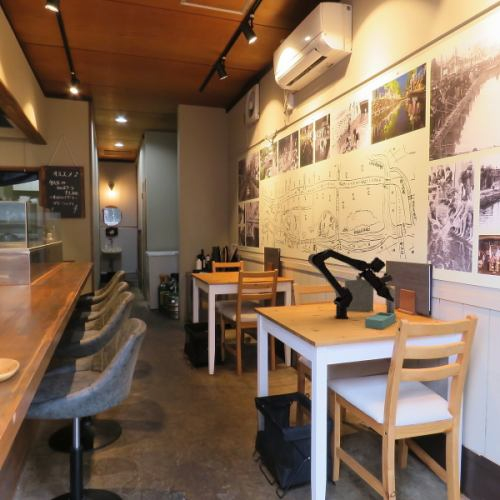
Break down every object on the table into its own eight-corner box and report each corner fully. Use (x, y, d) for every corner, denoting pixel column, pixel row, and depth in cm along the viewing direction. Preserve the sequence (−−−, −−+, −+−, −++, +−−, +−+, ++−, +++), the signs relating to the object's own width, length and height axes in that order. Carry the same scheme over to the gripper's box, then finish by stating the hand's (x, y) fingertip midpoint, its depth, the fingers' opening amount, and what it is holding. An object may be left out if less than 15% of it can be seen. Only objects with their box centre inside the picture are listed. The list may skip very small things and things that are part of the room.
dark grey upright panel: (344, 310, 234) (344, 275, 233) (344, 309, 238) (344, 275, 237) (373, 311, 230) (373, 276, 229) (372, 310, 234) (373, 275, 233)
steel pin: (385, 312, 217) (386, 285, 216) (393, 312, 217) (394, 286, 216) (387, 313, 213) (388, 286, 212) (395, 313, 213) (395, 287, 212)
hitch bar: (380, 319, 210) (380, 311, 210) (395, 321, 206) (395, 313, 205) (365, 327, 194) (365, 318, 194) (382, 329, 190) (382, 321, 189)
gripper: (384, 270, 206) (407, 292, 203) (382, 266, 224) (403, 287, 221) (367, 285, 208) (390, 307, 206) (367, 280, 226) (388, 301, 224)
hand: (393, 300), depth 214 cm, fingers closed on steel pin, 4 cm apart
